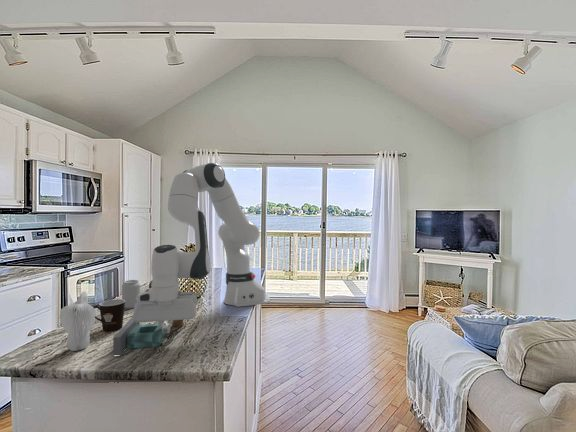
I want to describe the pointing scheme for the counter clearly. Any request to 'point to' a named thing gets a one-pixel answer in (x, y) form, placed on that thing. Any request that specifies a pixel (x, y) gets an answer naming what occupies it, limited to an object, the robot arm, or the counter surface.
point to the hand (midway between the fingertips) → (165, 332)
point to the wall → (123, 337)
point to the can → (130, 293)
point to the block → (145, 336)
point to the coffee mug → (111, 314)
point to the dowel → (177, 323)
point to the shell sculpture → (78, 322)
